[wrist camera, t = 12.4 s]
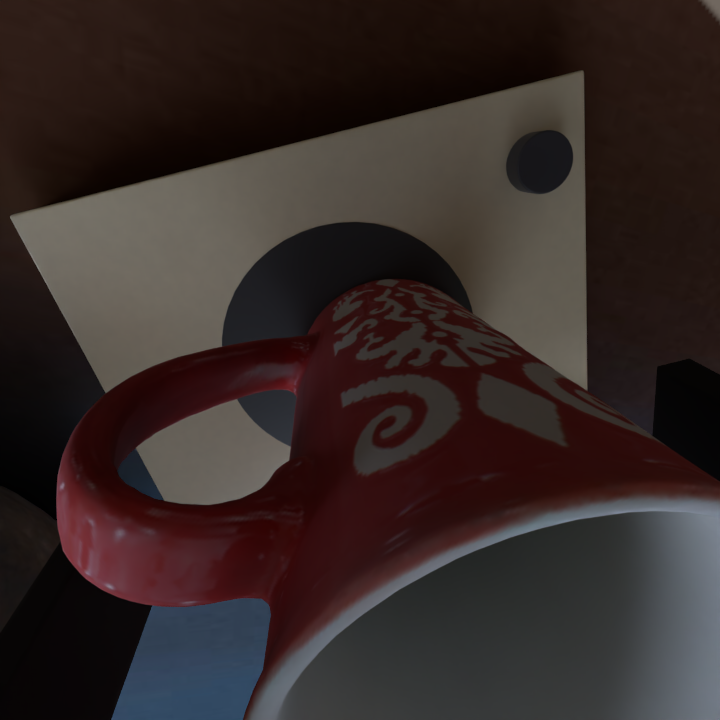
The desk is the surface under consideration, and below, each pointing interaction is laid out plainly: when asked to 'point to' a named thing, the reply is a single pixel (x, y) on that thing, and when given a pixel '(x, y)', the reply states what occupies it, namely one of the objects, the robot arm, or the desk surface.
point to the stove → (324, 257)
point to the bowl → (22, 548)
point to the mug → (421, 526)
